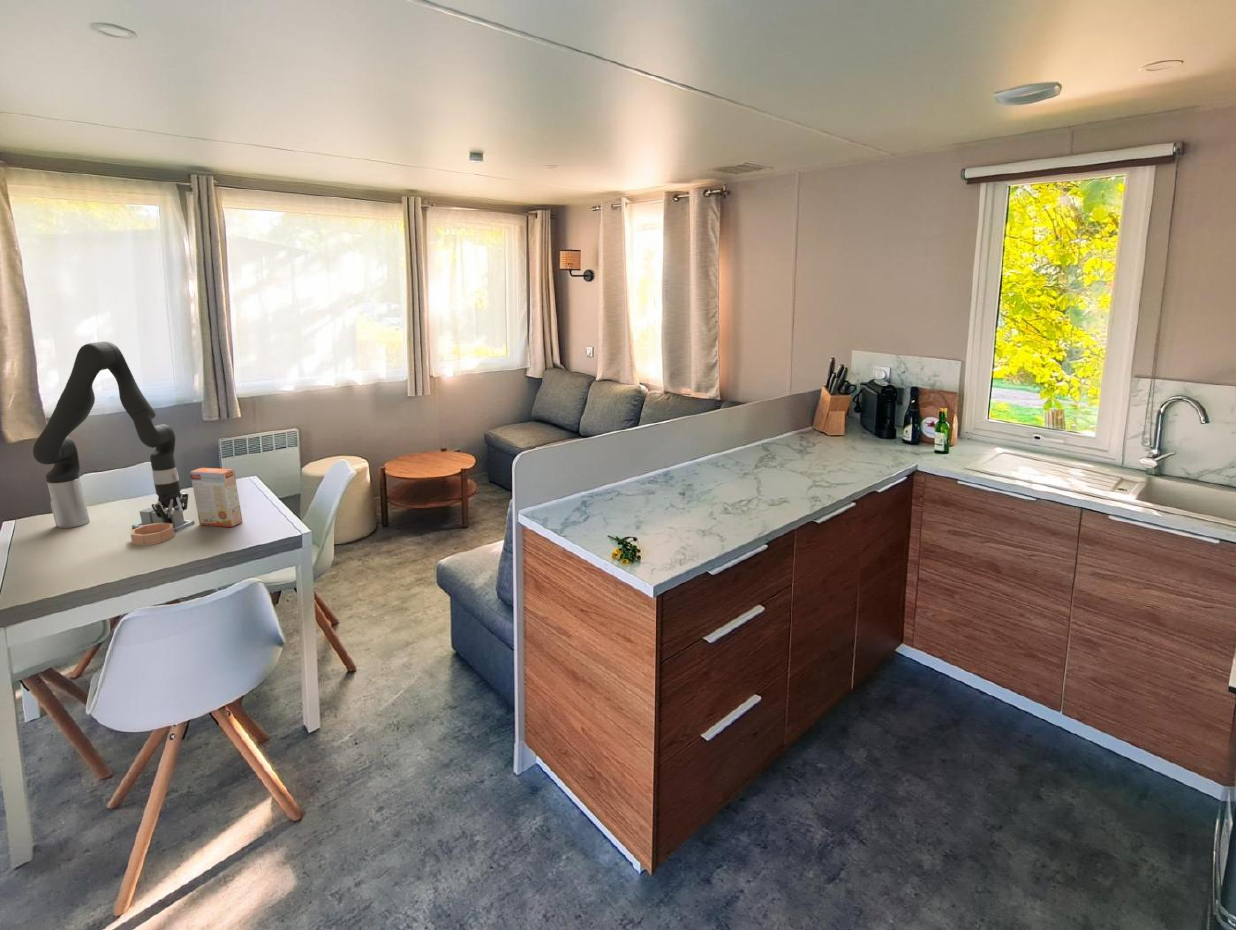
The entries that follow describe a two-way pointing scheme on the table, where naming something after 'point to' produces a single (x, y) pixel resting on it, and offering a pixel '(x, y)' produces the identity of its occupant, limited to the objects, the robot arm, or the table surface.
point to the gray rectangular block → (156, 519)
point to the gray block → (146, 516)
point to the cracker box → (216, 497)
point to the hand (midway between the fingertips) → (175, 524)
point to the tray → (186, 523)
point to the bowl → (152, 533)
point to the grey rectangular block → (177, 518)
